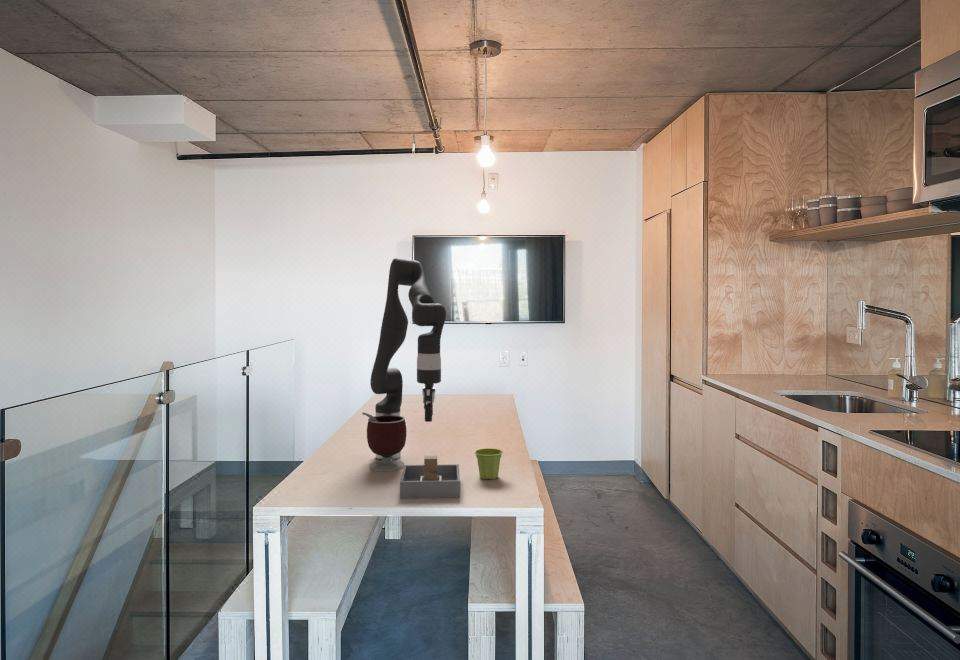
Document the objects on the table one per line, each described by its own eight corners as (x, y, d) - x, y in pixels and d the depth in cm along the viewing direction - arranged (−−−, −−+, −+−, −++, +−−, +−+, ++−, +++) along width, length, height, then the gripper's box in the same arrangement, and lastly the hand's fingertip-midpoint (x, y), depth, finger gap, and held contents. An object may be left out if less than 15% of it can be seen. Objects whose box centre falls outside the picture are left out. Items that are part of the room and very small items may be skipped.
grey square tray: (404, 480, 203) (404, 465, 203) (458, 479, 204) (458, 464, 204) (399, 498, 186) (399, 481, 185) (460, 497, 186) (459, 481, 186)
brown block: (424, 483, 197) (424, 455, 196) (437, 483, 197) (437, 455, 196) (424, 487, 193) (424, 458, 192) (437, 487, 193) (437, 458, 192)
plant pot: (468, 477, 207) (468, 451, 206) (488, 471, 214) (488, 446, 213) (488, 483, 200) (488, 456, 200) (508, 477, 207) (508, 451, 206)
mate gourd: (401, 459, 228) (401, 405, 227) (411, 469, 215) (410, 412, 214) (359, 463, 223) (358, 408, 221) (366, 474, 210) (366, 416, 209)
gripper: (440, 370, 186) (440, 423, 187) (441, 364, 200) (441, 413, 202) (415, 370, 186) (415, 423, 187) (418, 364, 200) (418, 414, 201)
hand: (428, 418), depth 194 cm, fingers open, 8 cm apart
